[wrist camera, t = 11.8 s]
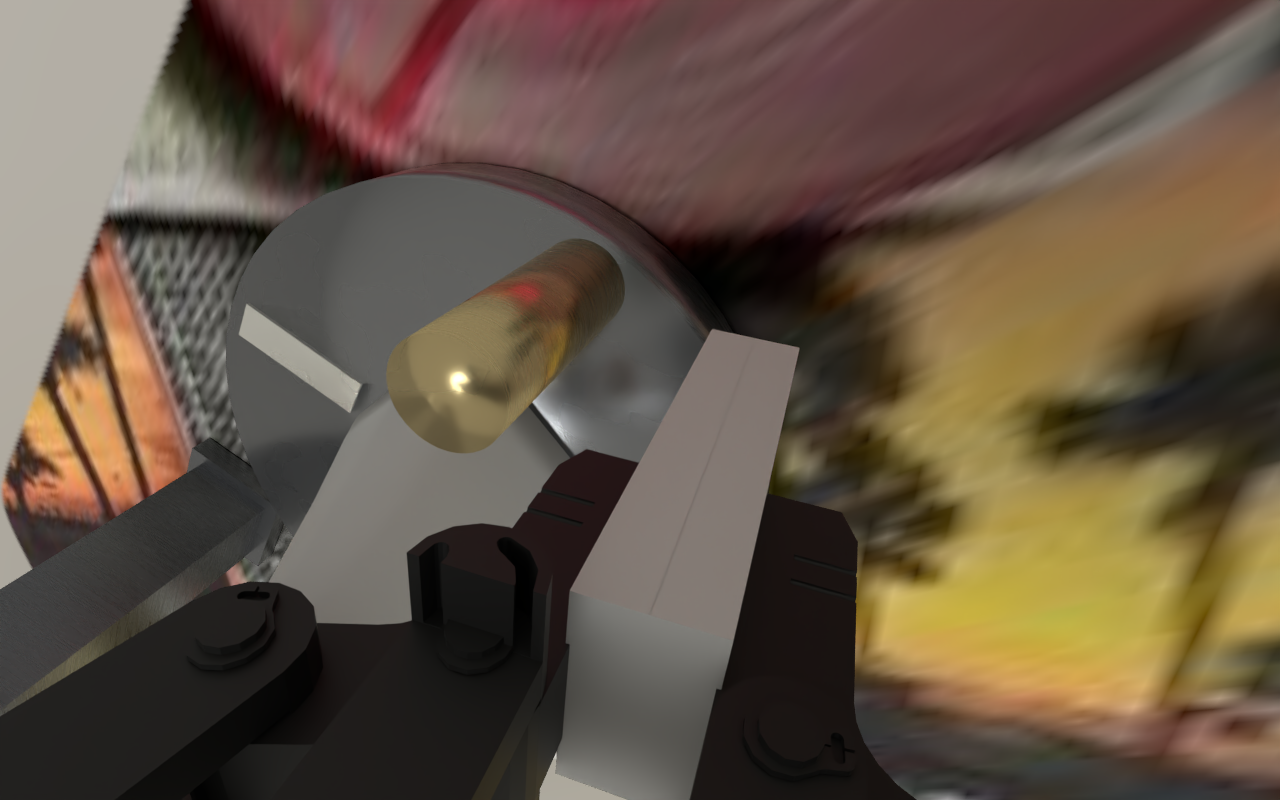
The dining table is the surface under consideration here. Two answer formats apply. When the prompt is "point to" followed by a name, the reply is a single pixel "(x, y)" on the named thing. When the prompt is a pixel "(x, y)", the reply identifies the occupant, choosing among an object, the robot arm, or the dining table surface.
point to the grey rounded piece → (456, 322)
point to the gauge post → (132, 572)
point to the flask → (404, 509)
